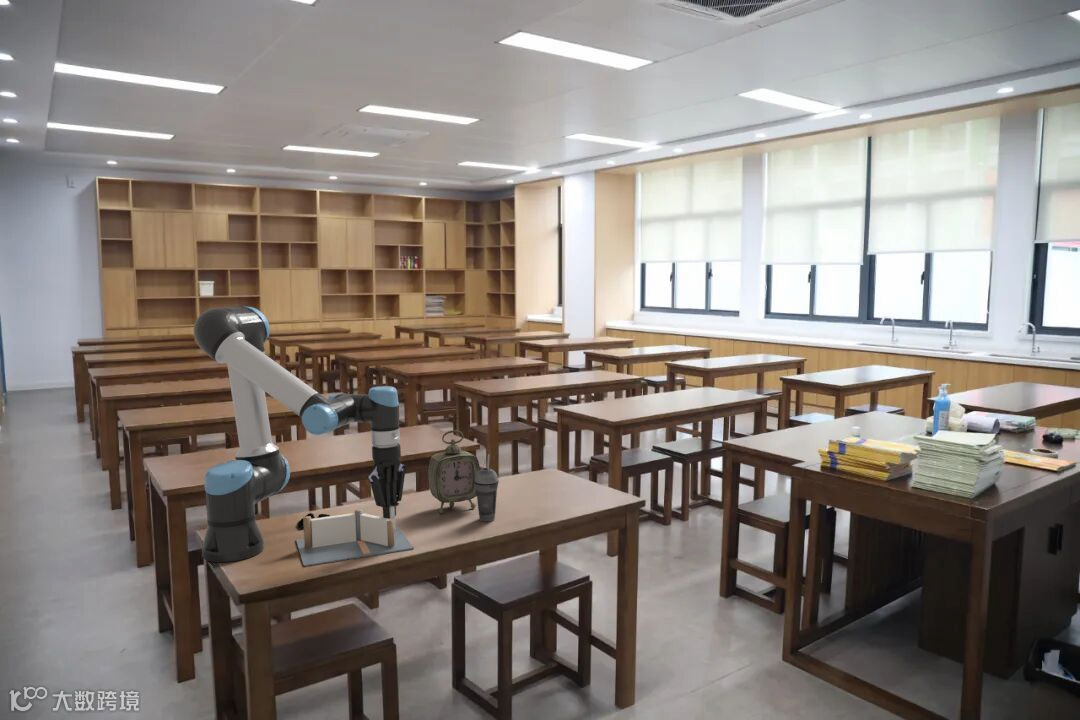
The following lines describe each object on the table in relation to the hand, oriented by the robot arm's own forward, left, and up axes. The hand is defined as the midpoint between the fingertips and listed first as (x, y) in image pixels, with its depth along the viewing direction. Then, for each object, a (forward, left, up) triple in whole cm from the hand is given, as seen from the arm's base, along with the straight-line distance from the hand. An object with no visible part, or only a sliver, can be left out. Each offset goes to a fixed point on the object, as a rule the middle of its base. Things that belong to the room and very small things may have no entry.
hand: (390, 529), depth 198 cm
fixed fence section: (-14, +6, -4) cm, 16 cm away
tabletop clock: (+25, +22, -4) cm, 33 cm away
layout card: (-9, +3, -4) cm, 11 cm away
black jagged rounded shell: (-17, +26, -5) cm, 31 cm away
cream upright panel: (-3, 0, -3) cm, 5 cm away
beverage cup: (+31, +8, -4) cm, 32 cm away
